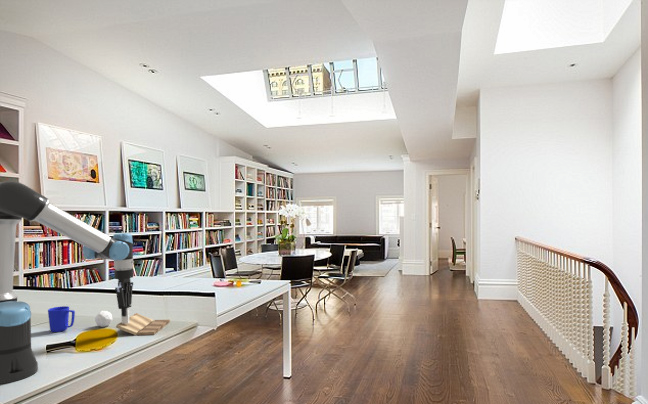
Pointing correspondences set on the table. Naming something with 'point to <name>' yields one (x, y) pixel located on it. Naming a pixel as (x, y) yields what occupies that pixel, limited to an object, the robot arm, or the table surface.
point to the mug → (60, 318)
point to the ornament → (103, 319)
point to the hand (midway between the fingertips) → (125, 323)
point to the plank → (135, 324)
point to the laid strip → (154, 327)
